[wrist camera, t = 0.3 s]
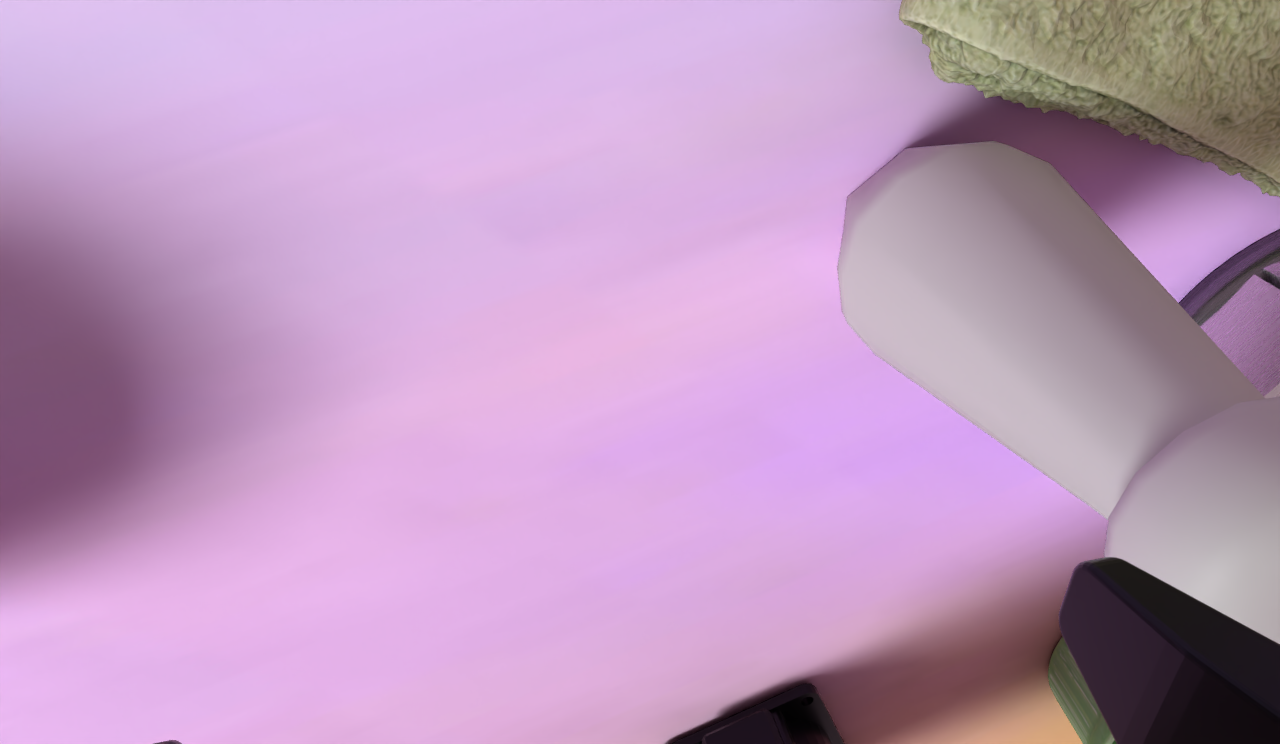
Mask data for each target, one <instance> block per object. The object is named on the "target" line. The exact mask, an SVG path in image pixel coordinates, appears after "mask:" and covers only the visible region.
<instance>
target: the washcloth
mask: <svg viewBox="0 0 1280 744" xmlns="http://www.w3.org/2000/svg"><path fill="white" fill-rule="evenodd" d="M899 20H901V21H902V22H903V23H904V25H908V26H910V27H911V28H914V29H916V30H917V31H918V32H919V33H920V34H923V37H922V42H923V44H926V45H927V46H928V47H929V48H930V54H929V59H930V61H931V66H932V69H933V71H934V74H935V75H936V76H937V77H938V78H939V79H941V80H943V81H944V82H947V83H952V82H956V83H963V84H965V85H974V86H975V87H976V89H977V90H978V91H983V94H984V97H985V98H989V97H995V96H1001V97H1002V98H1003V99H1004V100H1010V101H1011V102H1013V103H1014V104H1015V103H1022V104H1024V105H1025V107H1026V108H1041V111H1042V113H1047V112H1048V111H1051V110H1059V111H1066V112H1068V113H1070V114H1072V115H1074V116H1076V117H1078V119H1082V118H1085V119H1093V120H1094V121H1096V122H1098V123H1100V124H1104V125H1108V126H1109V127H1111V128H1113V129H1115V130H1117V131H1119V132H1120V133H1121V134H1122V135H1124V136H1128V135H1131V134H1133V133H1135V134H1137V135H1139V140H1144V139H1148V142H1149V143H1150V144H1152V145H1157V144H1162V145H1164V146H1166V147H1167V148H1170V149H1172V150H1173V151H1174V152H1176V153H1177V154H1180V155H1187V156H1191V157H1195V158H1196V159H1198V160H1200V161H1202V162H1203V163H1205V162H1212V163H1214V164H1215V165H1217V166H1218V168H1219V169H1220V170H1222V171H1224V172H1226V173H1227V174H1228V175H1234V174H1237V173H1241V174H1240V175H1241V176H1242V177H1243V178H1244V179H1245V180H1249V181H1252V182H1253V183H1255V184H1256V185H1257V186H1258V187H1260V188H1261V191H1262V194H1264V193H1266V192H1267V193H1268V194H1269V195H1270V196H1279V197H1280V0H902V2H901V6H900V10H899Z"/></svg>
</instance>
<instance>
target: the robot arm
mask: <svg viewBox="0 0 1280 744" xmlns="http://www.w3.org/2000/svg"><path fill="white" fill-rule="evenodd" d="M1059 626H1060V630H1061V634H1062V636H1063V638H1064V641H1065V643H1066V645H1067V647H1068V648H1069V650H1070V652H1071V654H1072V656H1073V658H1074V660H1075V662H1076V664H1077V666H1078V668H1079V670H1080V672H1081V674H1082V676H1083V678H1084V680H1085V682H1086V684H1087V686H1088V688H1089V690H1090V692H1091V694H1092V696H1093V698H1094V700H1095V702H1096V704H1097V706H1098V708H1099V710H1100V712H1101V714H1102V716H1103V718H1104V720H1105V722H1106V724H1107V726H1108V728H1109V730H1110V732H1111V734H1112V736H1113V738H1114V740H1115V742H1116V744H1280V644H1278V643H1277V642H1275V641H1273V640H1271V639H1269V638H1267V637H1265V636H1264V635H1262V634H1260V633H1258V632H1256V631H1254V630H1253V629H1251V628H1249V627H1247V626H1245V625H1243V624H1241V623H1240V622H1238V621H1236V620H1234V619H1232V618H1230V617H1229V616H1227V615H1225V614H1223V613H1221V612H1219V611H1217V610H1216V609H1214V608H1212V607H1210V606H1208V605H1206V604H1205V603H1203V602H1201V601H1199V600H1197V599H1195V598H1193V597H1192V596H1190V595H1188V594H1186V593H1184V592H1182V591H1181V590H1179V589H1177V588H1175V587H1173V586H1171V585H1169V584H1168V583H1166V582H1164V581H1162V580H1160V579H1158V578H1157V577H1155V576H1153V575H1151V574H1149V573H1147V572H1145V571H1144V570H1142V569H1140V568H1138V567H1136V566H1134V565H1133V564H1131V563H1129V562H1127V561H1125V560H1123V559H1120V558H1117V557H1105V558H1100V559H1095V560H1090V561H1085V562H1082V563H1080V564H1079V565H1077V566H1076V567H1075V569H1074V571H1073V573H1072V576H1071V579H1070V582H1069V585H1068V588H1067V591H1066V593H1065V596H1064V599H1063V602H1062V605H1061V608H1060V611H1059ZM154 744H182V743H180V742H178V741H176V740H169V741H164V742H159V743H154ZM672 744H844V742H843V740H842V738H841V736H840V734H839V732H838V730H837V728H836V726H835V724H834V722H833V720H832V719H831V717H830V715H829V713H828V711H827V709H826V707H825V705H824V703H823V701H822V699H821V697H820V695H819V693H818V691H817V689H816V687H815V686H814V685H812V684H803V685H800V686H798V687H795V688H793V689H791V690H789V691H787V692H784V693H782V694H780V695H778V696H776V697H773V698H771V699H769V700H767V701H765V702H762V703H760V704H758V705H756V706H754V707H751V708H749V709H747V710H745V711H743V712H740V713H738V714H736V715H734V716H732V717H729V718H727V719H725V720H723V721H721V722H718V723H716V724H714V725H712V726H710V727H707V728H705V729H703V730H701V731H699V732H696V733H694V734H692V735H690V736H688V737H685V738H683V739H681V740H679V741H677V742H674V743H672Z"/></svg>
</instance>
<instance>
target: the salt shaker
mask: <svg viewBox="0 0 1280 744" xmlns="http://www.w3.org/2000/svg"><path fill="white" fill-rule="evenodd" d="M837 271H838V280H839V289H840V299H841V308H842V313H843V315H844V317H845V319H846V321H847V324H848V325H849V326H850V327H851V328H852V329H853V330H854V332H855V333H856V334H857V335H858V336H859V337H860V338H861V340H862V341H863V342H864V343H865V344H866V345H867V346H868V348H869V349H870V350H871V351H872V352H873V353H874V354H875V355H876V356H878V357H879V358H880V359H882V360H883V361H885V362H886V363H887V364H889V365H890V366H892V367H893V368H895V369H896V370H897V371H899V372H900V373H902V374H903V375H904V376H906V377H907V378H909V379H910V380H912V381H913V382H914V383H916V384H917V385H919V386H920V387H921V388H923V389H924V390H926V391H927V392H929V393H930V394H931V395H933V396H934V397H936V398H937V399H938V400H940V401H941V402H943V403H944V404H946V405H947V406H948V407H950V408H951V409H953V410H954V411H955V412H957V413H958V414H960V415H961V416H963V417H964V418H965V419H967V420H968V421H970V422H971V423H972V424H974V425H975V426H977V427H978V428H980V429H981V430H982V431H984V432H985V433H987V434H988V435H989V436H991V437H992V438H994V439H995V440H997V441H998V442H999V443H1001V444H1002V445H1004V446H1005V447H1007V448H1008V449H1009V450H1011V451H1012V452H1014V453H1015V454H1016V455H1018V456H1019V457H1021V458H1022V459H1024V460H1025V461H1026V462H1028V463H1029V464H1031V465H1032V466H1033V467H1035V468H1036V469H1038V470H1039V471H1041V472H1042V473H1043V474H1045V475H1046V476H1048V477H1049V478H1050V479H1052V480H1053V481H1055V482H1056V483H1058V484H1059V485H1060V486H1062V487H1063V488H1065V489H1066V490H1067V491H1069V492H1070V493H1072V494H1073V495H1075V496H1076V497H1077V498H1079V499H1080V500H1082V501H1083V502H1084V503H1086V504H1087V505H1089V506H1090V507H1091V508H1093V509H1094V510H1095V511H1096V512H1098V513H1099V514H1100V515H1102V516H1103V517H1104V518H1106V519H1107V520H1108V524H1107V532H1106V540H1105V548H1104V557H1117V558H1120V559H1123V560H1125V561H1127V562H1129V563H1131V564H1133V565H1134V566H1136V567H1138V568H1140V569H1142V570H1144V571H1145V572H1147V573H1149V574H1151V575H1153V576H1155V577H1157V578H1158V579H1160V580H1162V581H1164V582H1166V583H1168V584H1169V585H1171V586H1173V587H1175V588H1177V589H1179V590H1181V591H1182V592H1184V593H1186V594H1188V595H1190V596H1192V597H1193V598H1195V599H1197V600H1199V601H1201V602H1203V603H1205V604H1206V605H1208V606H1210V607H1212V608H1214V609H1216V610H1217V611H1219V612H1221V613H1223V614H1225V615H1227V616H1229V617H1230V618H1232V619H1234V620H1236V621H1238V622H1240V623H1241V624H1243V625H1245V626H1247V627H1249V628H1251V629H1253V630H1254V631H1256V632H1258V633H1260V634H1262V635H1264V636H1265V637H1267V638H1269V639H1271V640H1273V641H1275V642H1277V643H1278V644H1280V396H1279V397H1272V398H1265V397H1264V396H1263V395H1262V394H1261V393H1260V392H1259V391H1258V390H1257V389H1256V388H1255V386H1254V385H1253V384H1252V383H1251V382H1250V381H1249V380H1248V379H1247V378H1246V377H1245V376H1244V374H1243V373H1242V372H1241V371H1240V370H1239V369H1238V368H1237V367H1236V366H1235V365H1234V364H1233V362H1232V361H1231V360H1230V359H1229V358H1228V357H1227V356H1226V355H1225V354H1224V353H1223V352H1222V350H1221V349H1220V348H1219V347H1218V346H1217V345H1216V344H1215V343H1214V342H1213V341H1212V340H1211V338H1210V337H1209V336H1208V335H1207V334H1206V333H1205V332H1204V331H1203V330H1202V329H1201V328H1200V326H1199V325H1198V324H1197V323H1196V322H1195V321H1194V320H1193V319H1192V318H1191V317H1190V316H1189V314H1188V313H1187V312H1186V311H1185V310H1184V309H1183V308H1182V307H1181V306H1180V305H1179V304H1178V302H1177V301H1176V300H1175V299H1174V298H1173V297H1172V296H1171V295H1170V294H1169V293H1168V292H1167V290H1166V289H1165V288H1164V287H1163V286H1162V285H1161V284H1160V283H1159V282H1158V281H1157V280H1156V278H1155V277H1154V276H1153V275H1152V274H1151V273H1150V272H1149V271H1148V270H1147V269H1146V268H1145V266H1144V265H1143V264H1142V263H1141V262H1140V261H1139V260H1138V259H1137V258H1136V257H1135V256H1134V254H1133V253H1132V252H1131V251H1130V250H1129V249H1128V248H1127V247H1126V246H1125V245H1124V244H1123V242H1122V241H1121V240H1120V239H1119V238H1118V237H1117V236H1116V235H1115V234H1114V233H1113V232H1112V230H1111V229H1110V228H1109V227H1108V226H1107V225H1106V224H1105V223H1104V222H1103V221H1102V220H1101V218H1100V217H1099V216H1098V215H1097V214H1096V213H1095V212H1094V211H1093V210H1092V209H1091V208H1090V206H1089V205H1088V204H1087V203H1086V202H1085V201H1084V200H1083V199H1082V198H1081V197H1080V196H1079V194H1078V193H1077V192H1076V191H1075V190H1074V189H1073V188H1072V187H1071V186H1070V185H1069V184H1068V182H1067V181H1066V180H1065V179H1064V178H1063V177H1062V176H1061V175H1060V174H1059V173H1058V172H1057V170H1056V169H1055V168H1054V167H1053V166H1052V165H1051V164H1050V163H1048V162H1046V161H1043V160H1041V159H1039V158H1036V157H1034V156H1032V155H1029V154H1027V153H1025V152H1023V151H1020V150H1018V149H1016V148H1013V147H1011V146H1009V145H1006V144H1002V143H999V142H996V141H987V142H975V143H963V144H951V145H939V146H927V147H915V148H906V149H904V150H903V151H902V152H901V153H900V154H898V155H897V156H896V157H895V158H894V159H892V160H891V161H890V162H889V163H887V164H886V165H885V166H884V167H883V168H881V169H880V170H879V171H878V172H877V173H875V174H874V175H873V176H872V177H871V178H869V179H868V180H867V181H866V182H865V183H863V184H862V185H861V186H860V187H859V188H857V189H856V190H855V191H854V192H853V193H851V194H850V195H849V196H848V197H847V201H846V210H845V218H844V227H843V234H842V240H841V247H840V253H839V260H838V266H837Z"/></svg>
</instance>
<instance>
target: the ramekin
mask: <svg viewBox="0 0 1280 744" xmlns="http://www.w3.org/2000/svg"><path fill="white" fill-rule="evenodd" d="M1048 679H1049V685H1050V687H1051V689H1052V691H1053V694H1054V695H1055V697H1056V699H1057V701H1058V703H1059V704H1060V706H1061V708H1062V709H1063V711H1064V713H1065V714H1066V716H1067V718H1068V719H1069V721H1070V723H1071V724H1072V726H1073V728H1074V729H1075V731H1076V733H1077V734H1078V736H1079V738H1080V739H1081V741H1082V743H1083V744H1116V742H1115V740H1114V738H1113V736H1112V734H1111V732H1110V730H1109V728H1108V726H1107V724H1106V722H1105V720H1104V718H1103V716H1102V714H1101V712H1100V710H1099V708H1098V706H1097V704H1096V702H1095V700H1094V698H1093V696H1092V694H1091V692H1090V690H1089V688H1088V686H1087V684H1086V682H1085V680H1084V678H1083V676H1082V674H1081V672H1080V670H1079V668H1078V666H1077V664H1076V662H1075V660H1074V658H1073V656H1072V654H1071V652H1070V650H1069V648H1068V647H1067V645H1066V643H1065V641H1064V638H1063V636H1062V638H1061V639H1060V641H1059V642H1058V644H1057V646H1056V647H1055V649H1054V651H1053V654H1052V656H1051V659H1050V663H1049V668H1048Z"/></svg>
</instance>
